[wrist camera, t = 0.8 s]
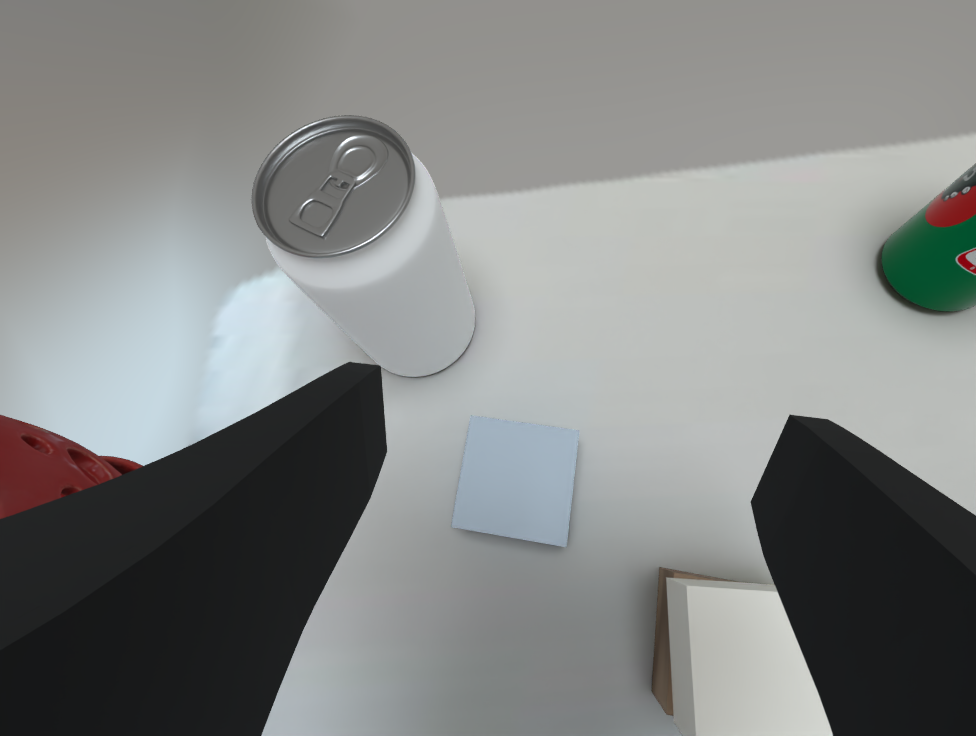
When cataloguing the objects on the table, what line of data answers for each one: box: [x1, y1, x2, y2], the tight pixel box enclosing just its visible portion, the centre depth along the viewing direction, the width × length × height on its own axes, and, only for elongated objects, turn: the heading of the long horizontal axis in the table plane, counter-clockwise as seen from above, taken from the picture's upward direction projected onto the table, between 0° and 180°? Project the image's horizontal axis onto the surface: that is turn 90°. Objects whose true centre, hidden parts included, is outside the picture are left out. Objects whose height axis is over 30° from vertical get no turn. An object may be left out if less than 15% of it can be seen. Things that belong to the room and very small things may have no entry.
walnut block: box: [652, 567, 736, 716], centre depth 20 cm, size 5×5×3 cm
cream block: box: [666, 577, 833, 736], centre depth 17 cm, size 5×5×3 cm
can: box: [252, 115, 475, 377], centre depth 22 cm, size 6×6×12 cm
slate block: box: [451, 415, 579, 547], centre depth 23 cm, size 5×5×3 cm
